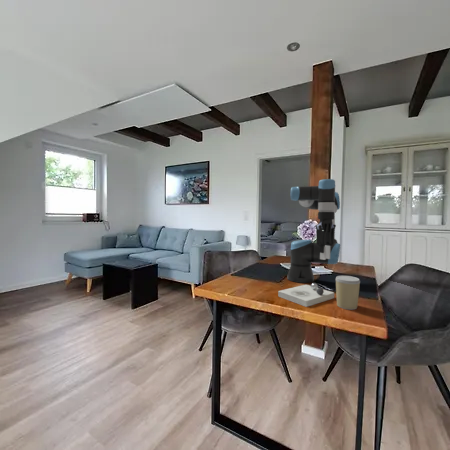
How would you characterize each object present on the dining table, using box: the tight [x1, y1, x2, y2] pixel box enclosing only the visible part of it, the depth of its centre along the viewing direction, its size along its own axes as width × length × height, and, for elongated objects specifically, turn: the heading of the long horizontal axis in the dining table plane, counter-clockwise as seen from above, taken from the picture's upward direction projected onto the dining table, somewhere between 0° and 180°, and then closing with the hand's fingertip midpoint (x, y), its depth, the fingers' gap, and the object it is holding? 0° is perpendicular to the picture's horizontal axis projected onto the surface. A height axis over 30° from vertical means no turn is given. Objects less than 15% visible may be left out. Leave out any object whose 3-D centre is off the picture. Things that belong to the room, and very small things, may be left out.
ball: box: [317, 287, 324, 295], centre depth 115 cm, size 3×3×3 cm
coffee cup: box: [335, 275, 361, 311], centre depth 107 cm, size 9×9×12 cm
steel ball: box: [310, 282, 319, 290], centre depth 122 cm, size 3×3×3 cm
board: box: [277, 284, 335, 308], centre depth 119 cm, size 20×16×2 cm
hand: (325, 258), depth 126 cm, fingers open, 3 cm apart
